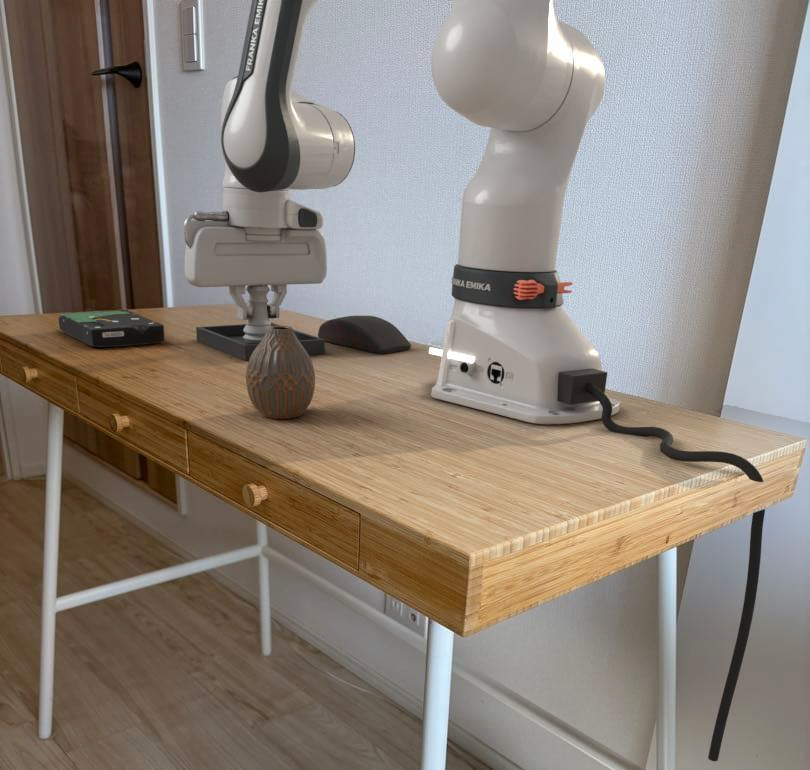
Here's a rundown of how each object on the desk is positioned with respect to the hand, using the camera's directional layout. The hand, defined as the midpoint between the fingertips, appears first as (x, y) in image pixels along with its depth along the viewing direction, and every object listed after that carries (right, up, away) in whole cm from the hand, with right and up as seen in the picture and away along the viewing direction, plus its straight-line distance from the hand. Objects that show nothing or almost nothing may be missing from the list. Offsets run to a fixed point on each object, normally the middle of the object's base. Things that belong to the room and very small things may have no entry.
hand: (259, 318), depth 116 cm
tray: (0, -4, +2) cm, 4 cm away
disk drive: (-22, -2, +3) cm, 22 cm away
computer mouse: (+14, -2, +7) cm, 16 cm away
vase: (+8, -18, -31) cm, 37 cm away
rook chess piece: (0, -3, +1) cm, 3 cm away
